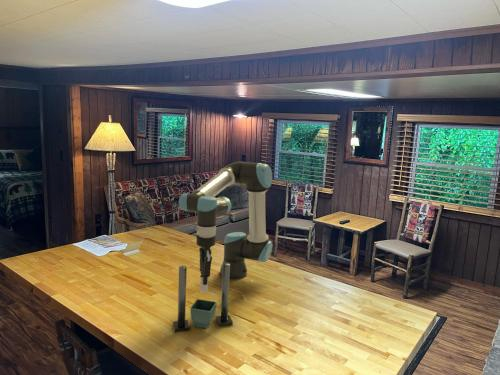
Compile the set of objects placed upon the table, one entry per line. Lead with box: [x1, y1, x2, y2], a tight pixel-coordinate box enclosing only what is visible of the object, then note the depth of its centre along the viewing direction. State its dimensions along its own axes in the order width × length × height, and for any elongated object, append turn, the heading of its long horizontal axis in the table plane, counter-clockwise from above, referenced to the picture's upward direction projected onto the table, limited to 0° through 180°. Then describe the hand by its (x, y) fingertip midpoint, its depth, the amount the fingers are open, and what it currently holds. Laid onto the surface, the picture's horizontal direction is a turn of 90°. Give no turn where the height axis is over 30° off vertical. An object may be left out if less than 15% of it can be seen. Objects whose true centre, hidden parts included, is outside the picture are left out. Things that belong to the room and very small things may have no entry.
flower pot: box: [189, 298, 217, 329], centre depth 160 cm, size 9×9×9 cm
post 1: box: [172, 265, 191, 333], centre depth 156 cm, size 6×6×26 cm
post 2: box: [214, 262, 234, 328], centre depth 162 cm, size 6×6×26 cm
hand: (204, 290), depth 159 cm, fingers closed
